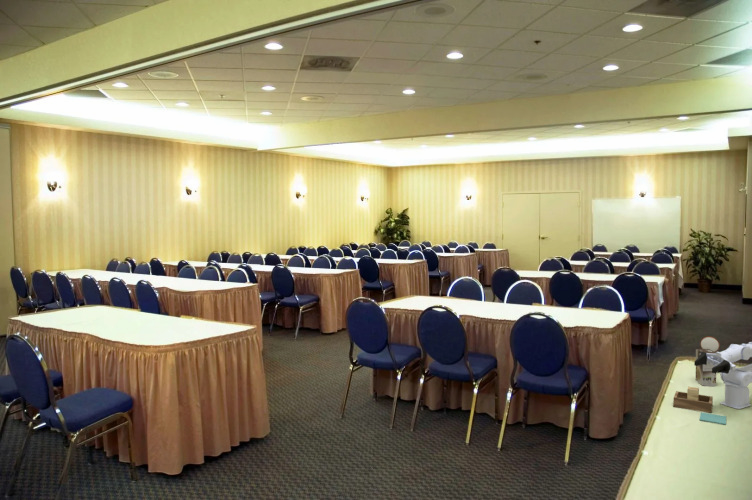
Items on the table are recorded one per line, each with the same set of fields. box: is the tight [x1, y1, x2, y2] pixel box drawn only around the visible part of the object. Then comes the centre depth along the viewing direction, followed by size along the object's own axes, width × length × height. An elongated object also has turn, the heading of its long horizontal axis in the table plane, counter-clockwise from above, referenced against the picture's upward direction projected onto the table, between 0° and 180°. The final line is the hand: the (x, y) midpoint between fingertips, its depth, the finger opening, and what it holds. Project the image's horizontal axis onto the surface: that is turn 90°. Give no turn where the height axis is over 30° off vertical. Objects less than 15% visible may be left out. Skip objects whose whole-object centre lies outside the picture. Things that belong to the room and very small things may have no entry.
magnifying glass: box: [699, 335, 721, 353], centre depth 277 cm, size 9×2×20 cm, turn 53°
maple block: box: [686, 386, 700, 401], centre depth 235 cm, size 4×4×6 cm
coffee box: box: [695, 348, 717, 387], centre depth 265 cm, size 9×6×16 cm
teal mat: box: [699, 411, 727, 426], centre depth 222 cm, size 9×9×1 cm
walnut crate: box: [672, 390, 714, 414], centre depth 236 cm, size 10×14×4 cm
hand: (703, 367), depth 227 cm, fingers open, 7 cm apart
